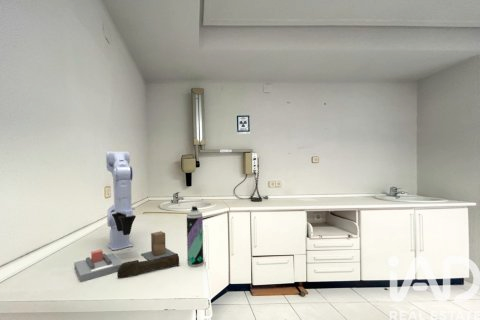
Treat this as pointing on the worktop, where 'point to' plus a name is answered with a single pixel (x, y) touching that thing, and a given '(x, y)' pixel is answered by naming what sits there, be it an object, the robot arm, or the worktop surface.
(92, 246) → the worktop surface
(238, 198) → the worktop surface
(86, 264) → the panel
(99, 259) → the lever
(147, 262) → the hand tool
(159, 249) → the tan wooden post
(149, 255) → the mat
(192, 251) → the spray can
